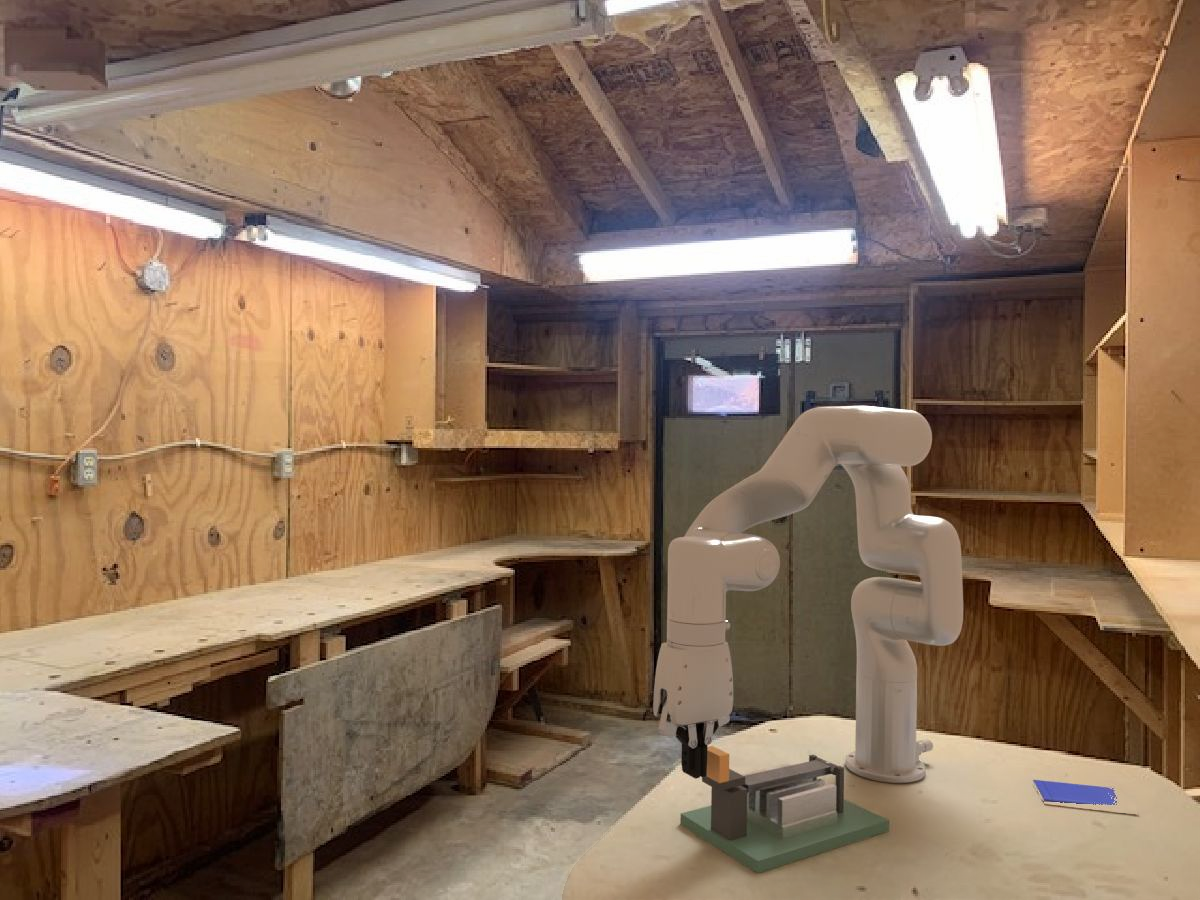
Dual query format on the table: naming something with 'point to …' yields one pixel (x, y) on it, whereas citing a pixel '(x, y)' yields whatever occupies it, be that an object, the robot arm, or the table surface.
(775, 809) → the heat sink
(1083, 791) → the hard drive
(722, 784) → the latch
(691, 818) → the board
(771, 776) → the strap
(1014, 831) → the table surface
